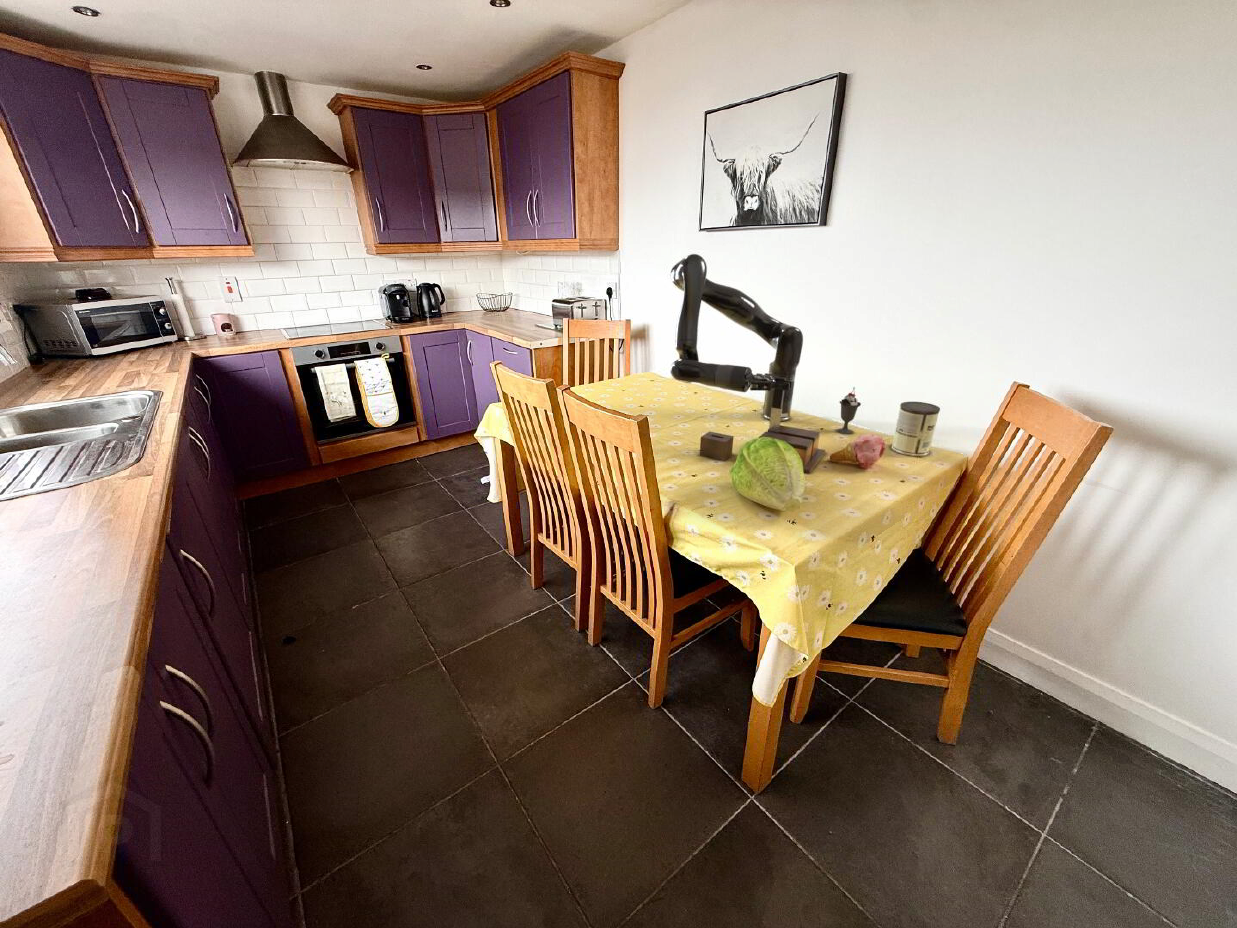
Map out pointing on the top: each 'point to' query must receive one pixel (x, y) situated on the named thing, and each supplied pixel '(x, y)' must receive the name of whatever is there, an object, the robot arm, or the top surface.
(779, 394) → the knife
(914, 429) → the coffee can
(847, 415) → the sundae
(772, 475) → the lettuce
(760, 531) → the top surface
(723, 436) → the knife block
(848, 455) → the ice cream
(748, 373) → the robot arm
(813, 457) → the slotted wooden block
